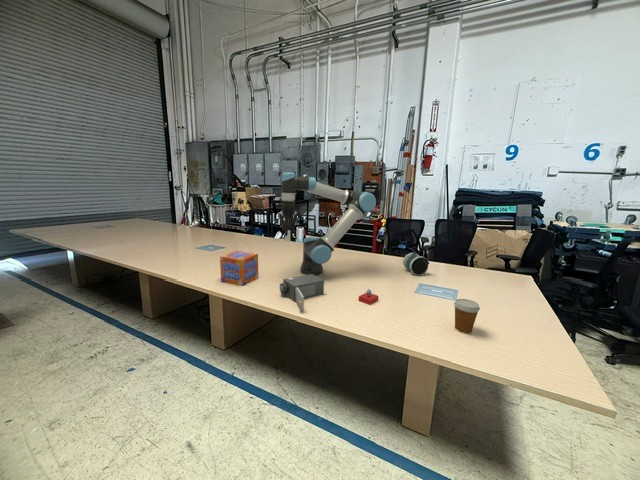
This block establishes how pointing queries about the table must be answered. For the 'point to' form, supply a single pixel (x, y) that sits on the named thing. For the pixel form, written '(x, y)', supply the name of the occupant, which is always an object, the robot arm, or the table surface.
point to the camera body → (303, 286)
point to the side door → (299, 298)
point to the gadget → (415, 263)
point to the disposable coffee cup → (465, 314)
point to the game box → (239, 267)
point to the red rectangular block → (368, 297)
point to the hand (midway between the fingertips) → (288, 241)
